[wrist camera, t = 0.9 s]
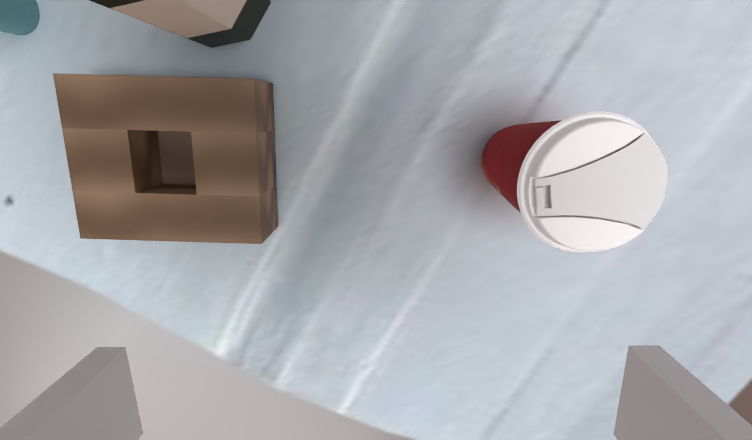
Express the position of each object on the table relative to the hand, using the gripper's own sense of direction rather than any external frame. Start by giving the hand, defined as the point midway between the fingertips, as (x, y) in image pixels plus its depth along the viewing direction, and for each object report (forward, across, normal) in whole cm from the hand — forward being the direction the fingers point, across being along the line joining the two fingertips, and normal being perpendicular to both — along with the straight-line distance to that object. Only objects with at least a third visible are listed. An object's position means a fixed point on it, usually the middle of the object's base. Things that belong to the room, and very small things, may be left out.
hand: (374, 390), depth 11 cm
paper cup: (+26, +11, +3) cm, 28 cm away
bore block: (+25, -16, +4) cm, 30 cm away
